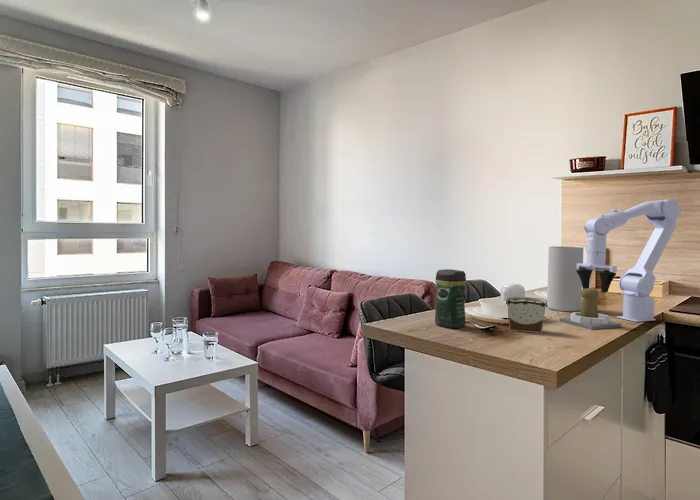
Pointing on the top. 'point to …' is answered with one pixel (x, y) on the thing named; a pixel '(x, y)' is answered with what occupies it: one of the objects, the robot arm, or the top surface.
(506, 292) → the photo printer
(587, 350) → the top surface
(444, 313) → the coffee jar
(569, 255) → the cylinder vase
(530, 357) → the top surface
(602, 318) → the socket holder
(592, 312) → the cork
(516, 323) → the food container
